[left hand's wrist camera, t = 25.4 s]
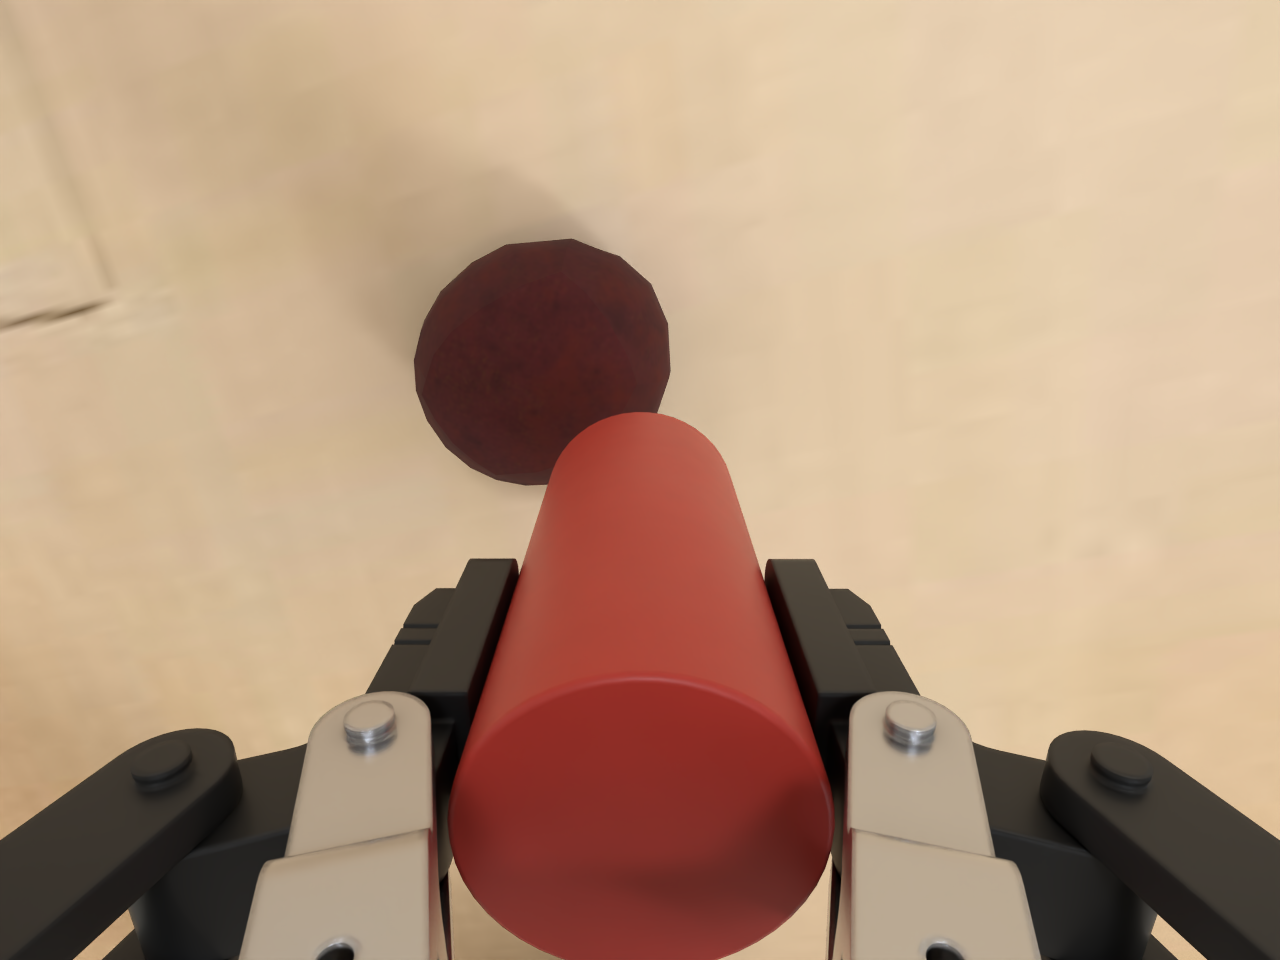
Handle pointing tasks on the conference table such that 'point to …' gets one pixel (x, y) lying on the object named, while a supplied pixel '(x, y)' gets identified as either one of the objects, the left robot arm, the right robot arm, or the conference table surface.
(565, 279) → the dark red ball
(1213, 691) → the conference table surface
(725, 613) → the can
